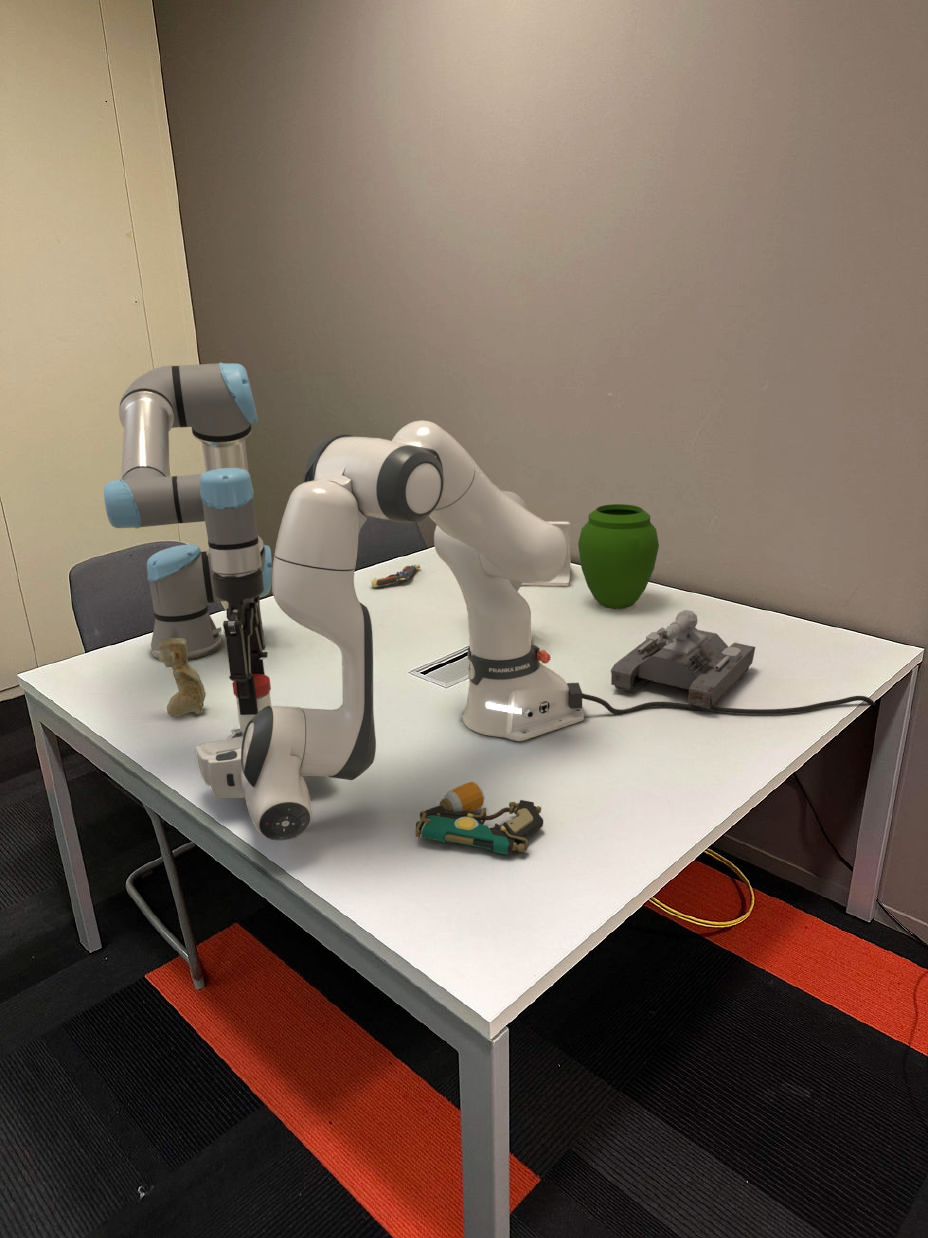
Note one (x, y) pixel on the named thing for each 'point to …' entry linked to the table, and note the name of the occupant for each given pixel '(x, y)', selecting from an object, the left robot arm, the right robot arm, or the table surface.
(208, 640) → the left robot arm
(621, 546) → the vase
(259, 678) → the lid
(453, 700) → the table surface
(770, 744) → the table surface
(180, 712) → the sculpture
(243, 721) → the jar
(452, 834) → the spray gun
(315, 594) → the right robot arm
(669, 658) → the toy
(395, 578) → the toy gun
